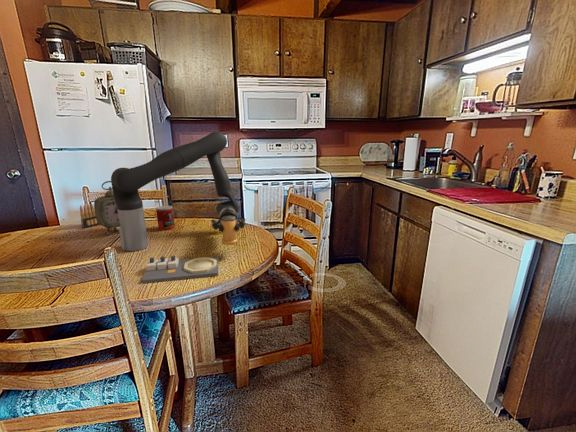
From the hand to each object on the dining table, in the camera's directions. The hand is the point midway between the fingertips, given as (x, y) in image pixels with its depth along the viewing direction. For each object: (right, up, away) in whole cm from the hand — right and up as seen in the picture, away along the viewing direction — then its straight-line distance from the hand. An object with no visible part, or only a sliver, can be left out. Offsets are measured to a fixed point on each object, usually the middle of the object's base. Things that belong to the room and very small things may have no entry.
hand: (229, 229), depth 111 cm
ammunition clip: (-79, 0, +44) cm, 91 cm away
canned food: (-39, -1, +39) cm, 56 cm away
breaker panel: (-15, -14, -7) cm, 22 cm away
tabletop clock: (-62, -3, +34) cm, 71 cm away
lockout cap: (-1, -5, +4) cm, 7 cm away
